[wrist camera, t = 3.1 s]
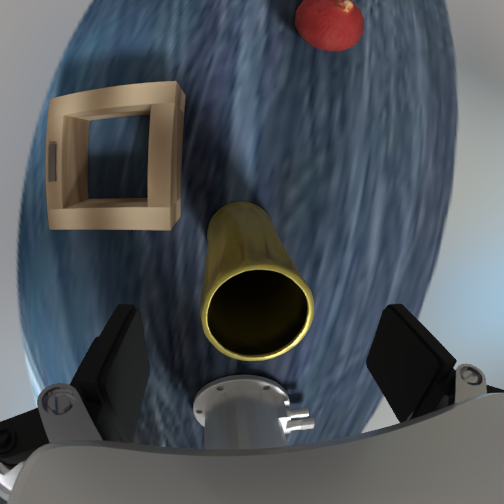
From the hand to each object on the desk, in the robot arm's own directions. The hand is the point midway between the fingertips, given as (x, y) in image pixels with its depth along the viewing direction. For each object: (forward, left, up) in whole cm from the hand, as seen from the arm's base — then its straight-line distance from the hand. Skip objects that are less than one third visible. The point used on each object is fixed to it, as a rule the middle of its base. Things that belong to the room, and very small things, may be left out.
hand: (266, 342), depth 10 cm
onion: (-6, -20, -17) cm, 27 cm away
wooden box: (+11, -7, -17) cm, 21 cm away
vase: (0, 0, -17) cm, 17 cm away
